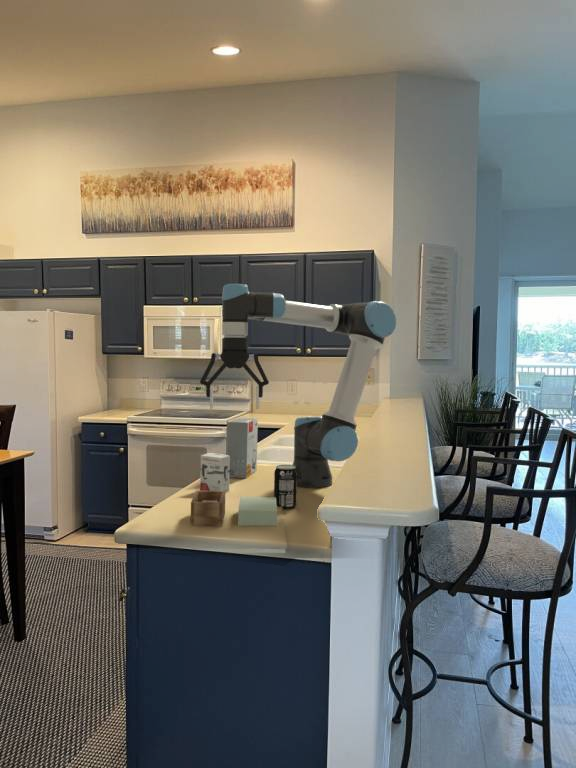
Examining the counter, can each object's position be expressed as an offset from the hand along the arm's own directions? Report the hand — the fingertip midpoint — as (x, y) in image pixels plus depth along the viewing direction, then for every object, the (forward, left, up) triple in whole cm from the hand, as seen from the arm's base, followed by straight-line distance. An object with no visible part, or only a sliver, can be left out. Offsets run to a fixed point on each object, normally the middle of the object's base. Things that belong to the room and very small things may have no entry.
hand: (234, 408), depth 186 cm
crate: (+6, +22, -28) cm, 36 cm away
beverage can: (-15, +5, -29) cm, 33 cm away
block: (+6, +19, -28) cm, 34 cm away
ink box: (+7, -14, -29) cm, 32 cm away
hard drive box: (-1, -41, -29) cm, 50 cm away
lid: (-7, +20, -28) cm, 36 cm away
